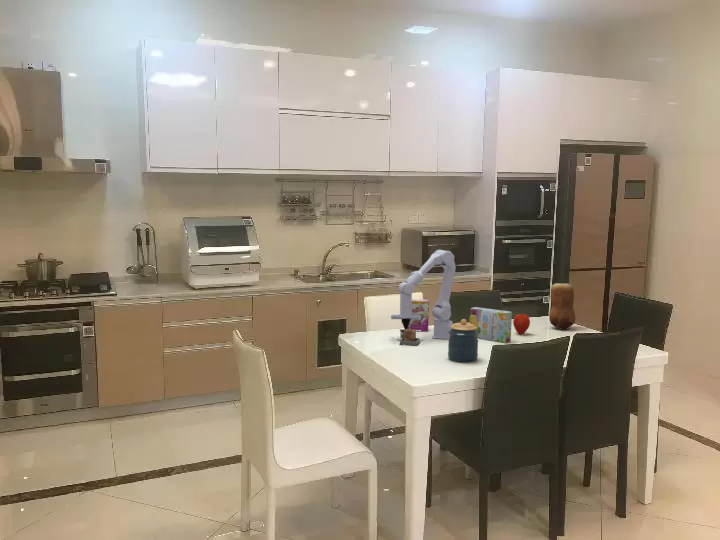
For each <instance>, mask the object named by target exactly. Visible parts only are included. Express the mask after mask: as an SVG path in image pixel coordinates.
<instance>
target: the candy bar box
mask: <svg viewBox="0 0 720 540" xmlns="http://www.w3.org/2000/svg"><path fill="white" fill-rule="evenodd" d="M429 308H430V300H429V299H413V298H412V315H419V316H421V320H410V323H409V325H408V328H407V329H414V330H421V331H420V332H429V316H430V314H429V313H430V312H429V311H430V309H429Z"/></svg>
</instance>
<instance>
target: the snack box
mask: <svg viewBox="0 0 720 540" xmlns="http://www.w3.org/2000/svg"><path fill="white" fill-rule="evenodd" d="M512 319H513V312H512V311H508V310H500V309H492V308H487V307H486V308H484V307H477V306H474V307H471V308H469V323H471V324H473V325H474V326H476V327H477V329H476V331H477V332H478V333H479V334H478V335H477V339H479V340H485V339H486V341H491V342H498V343H504V344H506V343H507V344H508V343H510V342H511V339H512V324H513V321H512Z"/></svg>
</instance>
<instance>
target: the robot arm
mask: <svg viewBox="0 0 720 540" xmlns="http://www.w3.org/2000/svg"><path fill="white" fill-rule="evenodd" d="M437 265H438V266H439V265H441V267H442V269H443V275H442V279H441V283H440V284H441V285H440V290H439V294H438V299H437V301H436V302H435V303H434V306H433V307H432V310H431V314H432V317H433V335H432V337H431V338H432V339H438V338H439V339H441V340H448V339H449V336H450V334H449V333H448V332H449V331H450V330H451V326H452V325H453V324H454V322H453V320H450V318H451V317H452V311H451V309H452V306H451V303H450V297H451V294H452V289H453V285H454V284H453V283H454V279H455V273H456V269H457V268H456V262H455V255H454V254H453V252H451V251H450V250H442V249H437V250H435V251H434V252H433V253H432V254H431V255H430V257H429V258H428V259H427V260H426V261H425V262H424V263H423V265H422V266H421V267H420V268H419V270H414V271H412V272H411V273H410V274H411V275H410V276H409V277H407V278H406V279H404V281H403V282H401V283H399V286H398V288H397V290H398V292H399V296H400V297H399V308H400V309H399V314H391V315H390V320H401V324H402V326H403V329H407V328H408V325H409V323H410V320H421V316H419V315H412V299H413V297H412V295H413V293H414V292H415V288H416V287H418V286H419V284H420V283H421V282H422V281H424V276H425V275H426V274H427V273H428V272H429V271H430V270H431V269H432V268H434V266H437ZM439 339H438V340H439Z"/></svg>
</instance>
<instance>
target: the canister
mask: <svg viewBox="0 0 720 540" xmlns="http://www.w3.org/2000/svg"><path fill="white" fill-rule="evenodd" d="M467 321H468V320H467V319H466V318H463V319H461V320H460V322H454V323H453V325H452V326H451V330H450V331H449V332H448V333H449V334H450V336H449V339H447V340H448V348H447V349H448V351H447V356H448V360H450V361H452V362H456V363H473V362H476V361H477V360H478V356H479V353H478V349H479V346H478V345H479V338H477V335H478V334H479V333H478V332H477V331H476V329H477V327H476V326H474V325H473V324H471V323H470V322H467Z"/></svg>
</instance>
